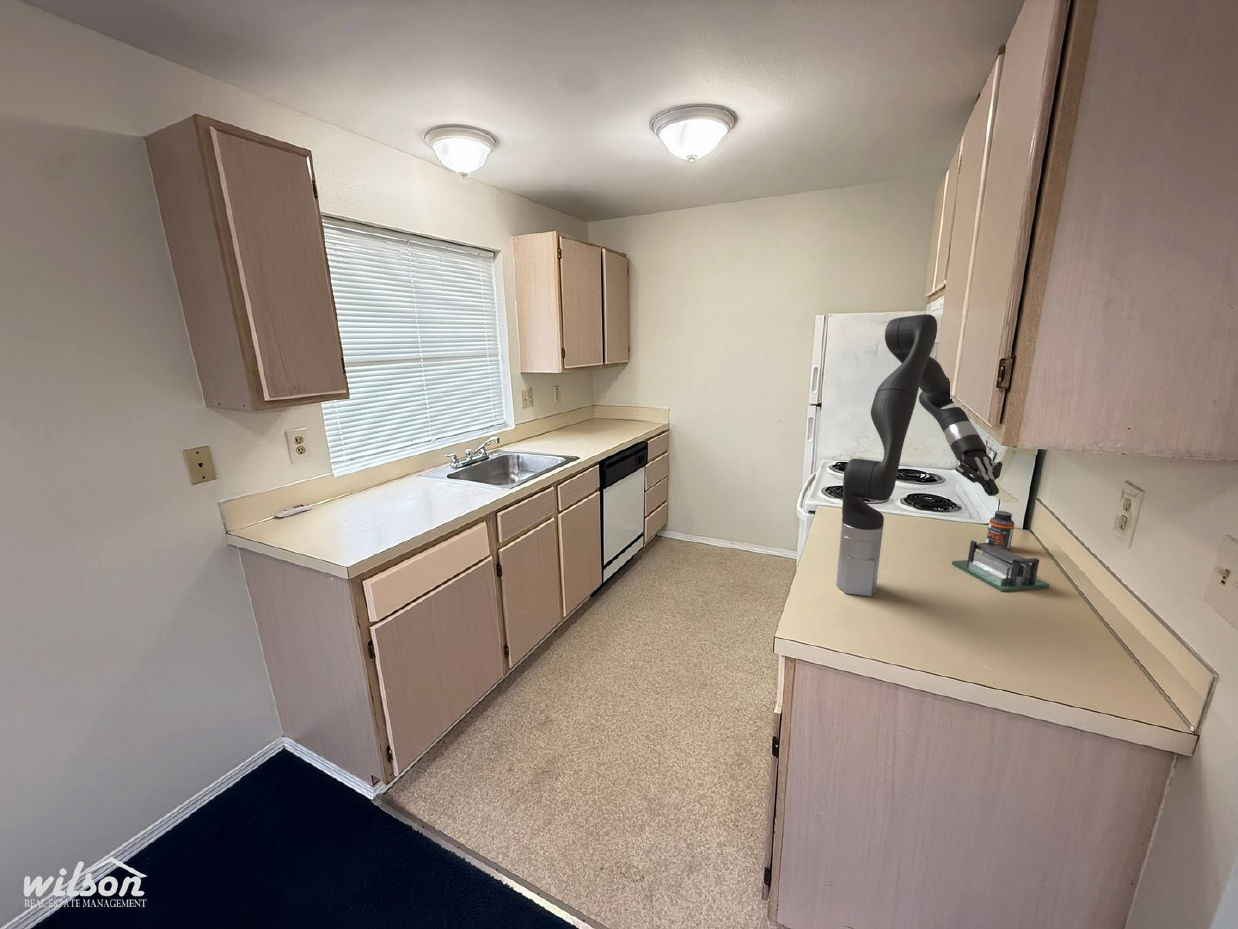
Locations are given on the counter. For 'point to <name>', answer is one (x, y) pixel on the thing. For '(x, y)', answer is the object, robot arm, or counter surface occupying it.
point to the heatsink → (1001, 570)
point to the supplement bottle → (1001, 529)
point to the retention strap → (998, 552)
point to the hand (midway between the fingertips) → (994, 494)
